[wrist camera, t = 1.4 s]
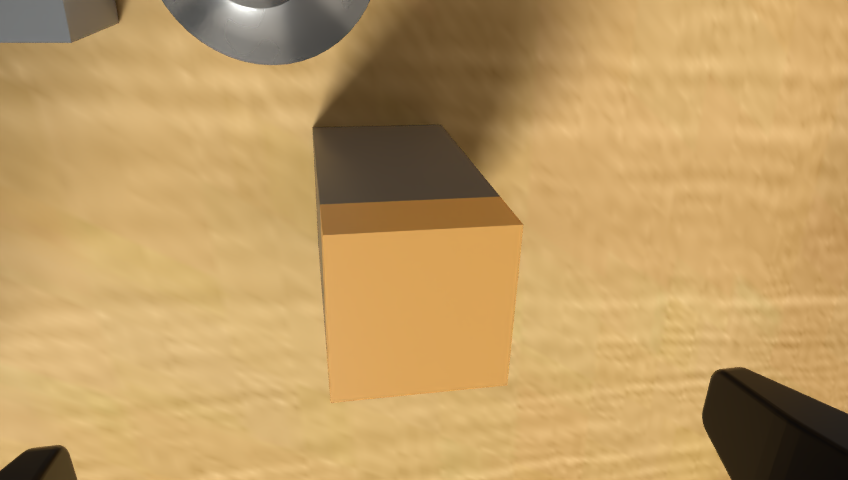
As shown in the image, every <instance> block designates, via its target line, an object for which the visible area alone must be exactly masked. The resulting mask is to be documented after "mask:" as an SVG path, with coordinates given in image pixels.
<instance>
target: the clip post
mask: <svg viewBox="0 0 848 480" xmlns="http://www.w3.org/2000/svg"><path fill="white" fill-rule="evenodd" d="M162 1H163V3H164V4H165V6H166V7H167V8H168V10H169V11H170V12H171V14H172V15H173V16H174V17H175V19H176V20H177V21H178V22H179V23H180V24H181V25H182V26H183V27H184V28H185V29H186V30H187V31H188V32H190V33H191V34H192V35H193V36H195V37H196V38H197V39H198V40H200V41H201V42H203V43H204V44H206V45H207V46H209V47H211V48H212V49H214V50H216V51H218V52H220V53H222V54H224V55H227V56H229V57H232V58H235V59H238V60H241V61H244V62H250V63H255V64H264V65H281V64H290V63H295V62H300V61H303V60H306V59H309V58H312V57H315V56H317V55H318V54H320V53H322V52H324V51H326V50H328V49H329V48H331V47H332V46H334V45H335V44H336V43H338V42H339V41H340V40H341V39H342V38H343V37H345V36H346V35H347V34H348V33H349V32H350V31H351V29H352V28H353V27H354V26H355V24H356V23H357V22H358V21H359V19H360V18H361V16H362V14H363V13H364V11H365V9H366V8H367V5H368V3H369V1H370V0H162Z"/></svg>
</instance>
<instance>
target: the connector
mask: <svg viewBox="0 0 848 480" xmlns="http://www.w3.org/2000/svg"><path fill="white" fill-rule="evenodd" d="M313 147H314V167H315V186H316V206H317V226H318V246H319V259H320V272H321V285H322V297H323V310H324V323H325V336H326V349H327V362H328V375H329V388H330V401H331V403H334V402H344V401H354V400H364V399H374V398H384V397H394V396H404V395H414V394H424V393H434V392H444V391H454V390H464V389H474V388H484V387H494V386H504V385H507V382H508V372H509V362H510V352H511V342H512V332H513V322H514V312H515V302H516V292H517V282H518V272H519V263H520V253H521V243H522V233H523V224H522V223H521V221H520V220H519V219H518V218H517V216H516V215H515V214H514V213H513V212H512V210H511V209H510V208H509V207H508V206H507V204H506V203H505V202H504V201H503V200H502V198H501V197H500V196H499V195H498V193H497V192H496V191H495V190H494V189H493V187H492V186H491V185H490V184H489V183H488V181H487V180H486V179H485V178H484V176H483V175H482V174H481V173H480V172H479V170H478V169H477V168H476V167H475V166H474V164H473V163H472V162H471V161H470V160H469V158H468V157H467V156H466V155H465V153H464V152H463V151H462V150H461V149H460V147H459V146H458V145H457V144H456V143H455V141H454V140H453V139H452V138H451V136H450V135H449V134H448V133H447V132H446V130H445V129H444V128H443V127H442V126H441V125H407V126H362V127H317V128H313Z"/></svg>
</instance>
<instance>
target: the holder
mask: <svg viewBox="0 0 848 480" xmlns="http://www.w3.org/2000/svg"><path fill="white" fill-rule="evenodd" d="M117 23H119V20H118V14H117V8H116V2H115V0H0V43H72V42H74V41H77V40H79V39H81V38H84V37H86V36H89V35H91V34H93V33H96V32H98V31H101V30H103V29H105V28H108V27H110V26H113V25H115V24H117Z"/></svg>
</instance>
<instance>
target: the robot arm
mask: <svg viewBox="0 0 848 480" xmlns="http://www.w3.org/2000/svg"><path fill="white" fill-rule="evenodd" d="M702 419H703V424H704V427H705V430H706V432H707V434H708V436H709V438H710V440H711V442H712V444H713V445H714V447H715V449H716V451H717V453H718V455H719V457H720V459H721V461H722V463H723V465H724V467H725V468H726V470H727V472H728V474H729V476H730V478H731V480H848V414H847V413H845V412H843V411H840V410H838V409H836V408H834V407H831V406H829V405H827V404H825V403H822V402H820V401H818V400H816V399H813V398H811V397H809V396H807V395H804V394H802V393H800V392H798V391H795V390H793V389H791V388H789V387H786V386H784V385H782V384H780V383H777V382H775V381H773V380H771V379H769V378H766V377H764V376H762V375H760V374H757V373H755V372H753V371H751V370H748V369H746V368H742V367H735V368H726V369H719V370H717V371H715V372H714V373H713V375H712V376H711V379H710V383H709V387H708V391H707V395H706V399H705V403H704V407H703V412H702ZM0 480H77V477H76V474H75V471H74V467H73V464H72V461H71V458H70V455H69V452H68V450H67V449H66V448H65V447H64V446H61V445H54V446H45V447H37V448H31V449H28V450H26V451H25V452H23V453H22V454H20V455H19V456H18V457H17V458H15V459H14V460H13V461H12V462H10V463H9V464H8V465H7V466H5V467H4V468H3V469H2V470H1V471H0Z"/></svg>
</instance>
